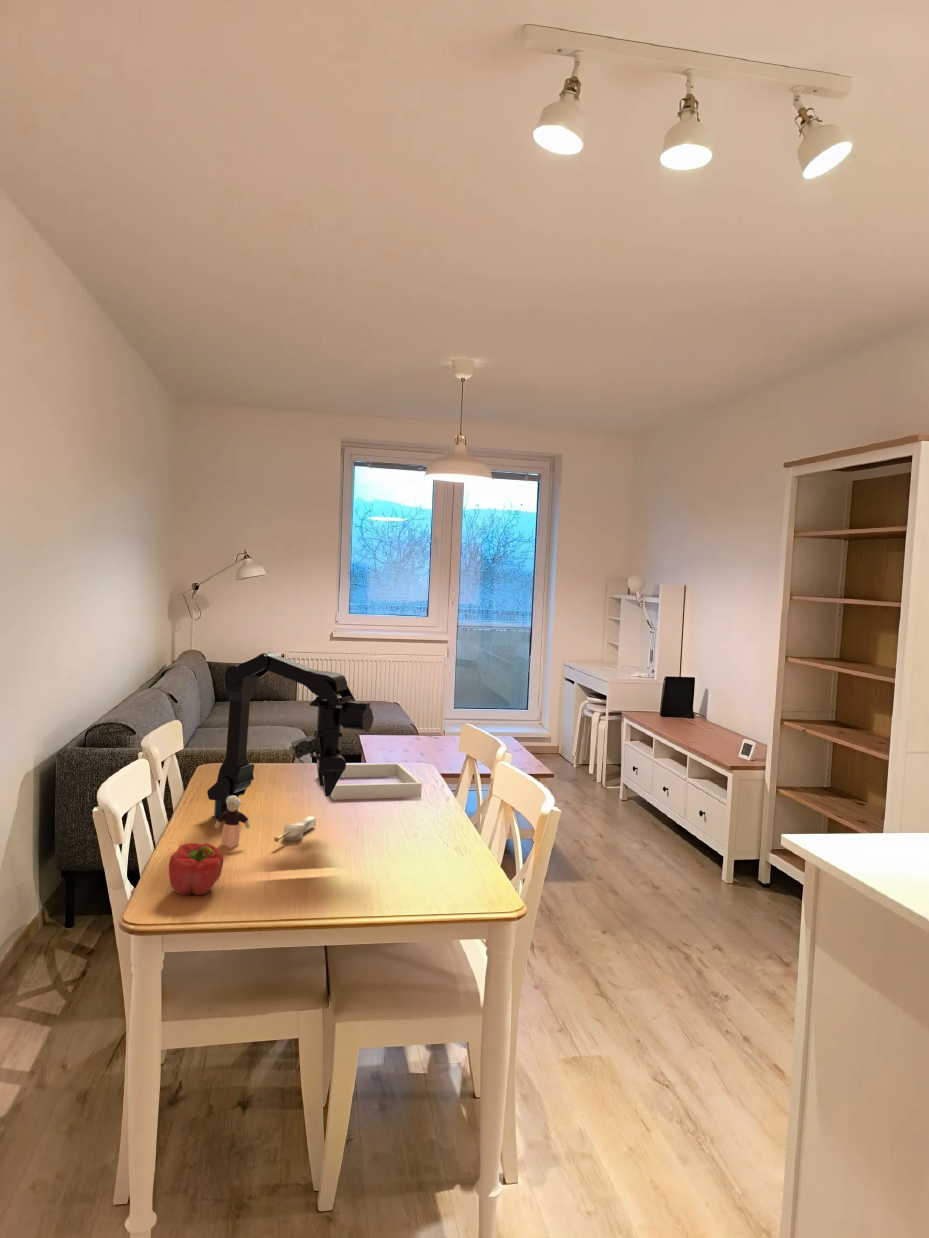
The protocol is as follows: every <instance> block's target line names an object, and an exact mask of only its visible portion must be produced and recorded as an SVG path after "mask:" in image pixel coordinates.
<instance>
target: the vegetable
mask: <svg viewBox="0 0 929 1238" xmlns="http://www.w3.org/2000/svg"><path fill="white" fill-rule="evenodd" d="M223 865H224V854H223V852H222V851H221V850H220V849H218V848H217V847H216V846H215V845H213V844H210V843H183V844H181V845H179V846H178V848H177V850H176V851H174V852H173V853H172V854H171V856H170V859H169V863H168V876H169V883H170V886H171V888H172V889H173V890H174V892H176V893H177V894H178V895H180V896H186V895H187V896H188V895H189V894H194V895H196V896H197V895H198V896H201V895H204V894H206V893H209V892H210V891H211V889H212V888H213V886H214V884H216V882H217V881H218V880H219V878H220V876H221V873H222V869H223Z"/></svg>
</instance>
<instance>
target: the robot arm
mask: <svg viewBox="0 0 929 1238" xmlns="http://www.w3.org/2000/svg"><path fill="white" fill-rule="evenodd" d="M268 673H273V674H275V675H277V676H280V677H282V678H285V679H288V680H290V681H293V682H295V683H297V684H301V685H302V686H304V687H306V688H307V689H308V690H309V691H310V692H311V693H312V694H314V695H315V696H316V697H315V699H314V700H312V701H311V702H309V706H310V707H315V708H317V719H316V728H315V729H314V730H313V735H308V736H305V737H303V738H299V739H296V740H293V741H292V742H291V743H290V745H291V748H292V752H293V755H294V757H295V759H300V758H303V757H304V756H306V755H309V756H310V758H311V759H312V760H313V762H314V763H315V764H316V770H317V778H318V777H319V778H318V783H319V786H320V787H323V788H324V795H325V797H331V796H330V795H331V793H332V791H333V789H334V787H335V785H338V784H337V783H338V782H339V780H340V776H341V775H342V773H343V772H344V770H346V764H347V761H346V759H345V758H344V757H343V756H342V755H341V754H342V748H340V745H341V738H342V737H343V732H342V728H343V729H345V730H351V731H358V732H364V733H368V732H369V731H370V730H372V729H371V728H372V727H373V724H374V715H373V710H372V708H371V703H370V702H367V701H364V702H360V701H356V699H355V697H354V695H353V693H352V692H351V690H350V688H349V686H348V682H347V679H346V677H345V676H344V675H343V674H342V673H338V672H333V671H328V670H327V671H325V670H319V669H318V670H317V669H314V668H311V667H308V666H306V665H303V664H301V663H298V662H295V661H292V660H291V659H288V658H285V657H282V656H280V655H278V654H276V653H275V652H263V653H260V654H258V655H257V656H255V657H254V658H251V659H249V660H247V661H244V662H242V663H240V664H235V665H231V666H228V668H226V669H225V670H224V674H223V680H224V681H223V682H224V683H223V685H224V691H225V693H226V695H227V697H228V699H229V707H228V721H227V733H226V734H227V735H226V748H225V749H226V753H225V758H224V760H223V761H222V763H221V766H220V767H219V770H218V774H217V777H216V778H217V779H216V782H215V783H214V784H213V785H212V786H211V787H209V789H208V790H207V792H206V793H207V797H208V800H209V801H214V812H213V815H212V816H211V818H216V819H218V818H219V817H220V815H221V814H222V813H223V812H225V811H228V809H227V804H226V800H227V798H228V797H229V796H233V795H235V796H236V797H238V798H239V797H240V796H244V795H245V793H246V790H247V789H248V788H249V787H250V786H251V784H252V781H254V780H255V777H254V769H255V764H254V763H250V762H249V760H248V758H247V751H248V749H247V748H248V747H247V746H248V736H249V735H248V734H249V723H250V722H249V720H250V719H249V718H250V705H251V699H252V698H253V696H254V694H255V692H256V691H257V687H258V682H259V679H260V678H262V677H263V676H265V675H267V674H268ZM239 799H240V798H239ZM236 811H239V808H238V809H237V810H236Z"/></svg>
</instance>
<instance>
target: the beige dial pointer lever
mask: <svg viewBox="0 0 929 1238" xmlns="http://www.w3.org/2000/svg"><path fill="white" fill-rule="evenodd" d="M316 823H317V817H316V816H312V815H311V816H310V815H309V816H307V817H306V818H304V819H302V820H299V822H297V823H288V824H286V825H284V826H283V833H281V834H279V835H278V836H275V837H274V838H273V841H274V843H277V842H279V841H280V840H281V839H283V840H284V841H286V842H292V843H293V842H294V843H295V842H300V841H302V840H303V839H304V833H306V832H307V831H309V830H310V829H312V828H313V827H316V825H317V824H316Z"/></svg>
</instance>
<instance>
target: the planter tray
mask: <svg viewBox="0 0 929 1238" xmlns="http://www.w3.org/2000/svg"><path fill="white" fill-rule="evenodd" d="M382 776H392V777H396V778H398V779H399V781H401V782H399V783H398V782H395V783H392V782H391V783H352V784H351V783H350V784H346V783H345V784H336V785H335V787H334V789H333V791H332V793H331V795H330V796H329V797H330V798H331V799H332V800H334V801H335V800H336V801H337V800H366V799H367V800H369V799H398V798H399V799H401V798H421V797H422V790H423V789H422V788H423V784H422V782H421V781H420V780H419V779H417V778H416V776H414V775H413V774H412V773H411V772H410V771H408V770H407V769H406V768H405V767H404V766H403V765H402V764H401V763H400V762H399V763H390V762H389V763H346V770H344V772H343V773H342V775H341V776H340V778H381V777H382ZM317 778H318V779H319V777H318V776H317ZM340 778H339V779H340ZM382 778H383V777H382Z"/></svg>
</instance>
